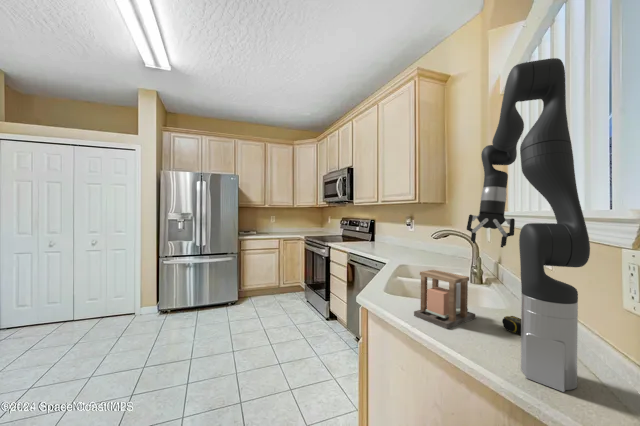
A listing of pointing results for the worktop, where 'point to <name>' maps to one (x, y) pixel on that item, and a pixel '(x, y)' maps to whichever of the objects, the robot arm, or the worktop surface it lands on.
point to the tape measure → (512, 324)
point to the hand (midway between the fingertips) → (487, 245)
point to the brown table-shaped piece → (453, 317)
